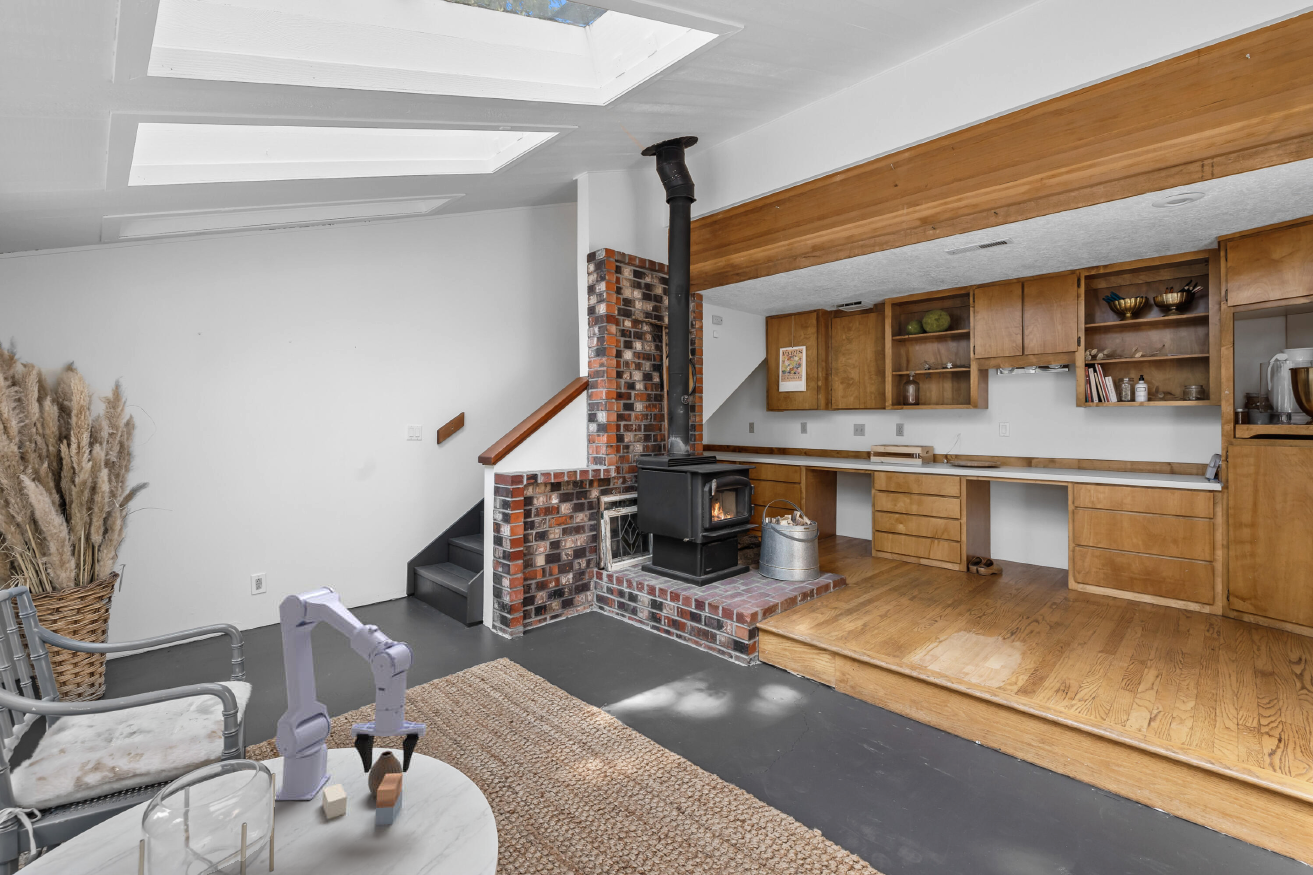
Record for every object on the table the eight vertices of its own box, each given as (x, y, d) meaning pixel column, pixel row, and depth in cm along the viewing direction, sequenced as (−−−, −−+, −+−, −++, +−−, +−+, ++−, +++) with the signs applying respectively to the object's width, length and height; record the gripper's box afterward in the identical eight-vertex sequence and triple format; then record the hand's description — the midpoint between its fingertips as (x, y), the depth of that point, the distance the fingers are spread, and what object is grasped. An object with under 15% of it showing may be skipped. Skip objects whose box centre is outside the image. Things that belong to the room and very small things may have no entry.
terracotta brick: (393, 806, 120) (394, 788, 120) (376, 807, 119) (377, 789, 120) (401, 789, 126) (402, 772, 126) (385, 790, 125) (385, 773, 125)
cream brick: (322, 805, 125) (322, 788, 125) (339, 799, 127) (340, 783, 128) (327, 819, 121) (328, 802, 121) (345, 813, 123) (346, 796, 123)
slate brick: (385, 807, 125) (385, 790, 126) (401, 806, 126) (402, 789, 126) (375, 825, 120) (375, 807, 120) (392, 824, 120) (393, 806, 120)
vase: (392, 803, 127) (394, 762, 127) (361, 801, 127) (363, 760, 127) (406, 785, 134) (408, 746, 134) (377, 783, 134) (379, 744, 134)
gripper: (431, 696, 128) (428, 759, 128) (362, 696, 126) (358, 759, 126) (421, 710, 121) (418, 777, 121) (348, 711, 119) (344, 778, 119)
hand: (387, 769), depth 123 cm, fingers open, 7 cm apart
